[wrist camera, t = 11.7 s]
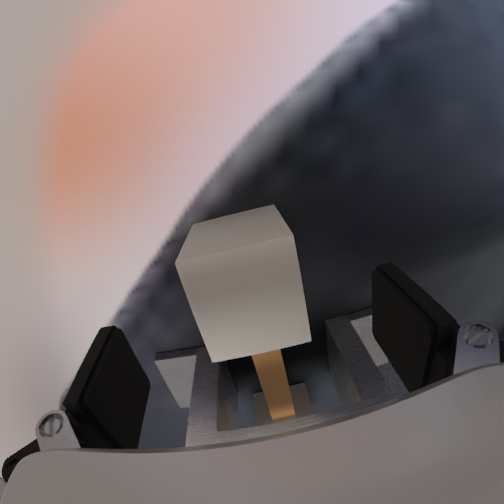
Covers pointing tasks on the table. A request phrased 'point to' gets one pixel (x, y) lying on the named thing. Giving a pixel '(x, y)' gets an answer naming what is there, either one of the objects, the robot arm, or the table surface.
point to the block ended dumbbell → (249, 301)
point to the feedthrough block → (227, 421)
